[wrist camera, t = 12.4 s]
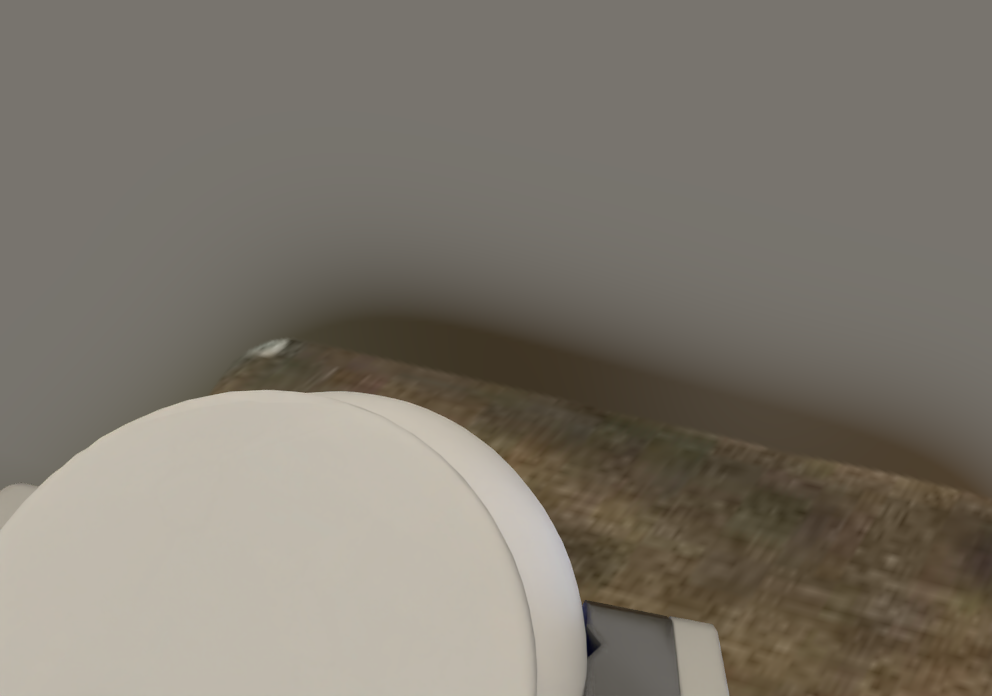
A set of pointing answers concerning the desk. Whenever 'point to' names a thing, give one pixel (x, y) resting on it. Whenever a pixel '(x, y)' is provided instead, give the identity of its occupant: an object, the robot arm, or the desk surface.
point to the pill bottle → (288, 560)
